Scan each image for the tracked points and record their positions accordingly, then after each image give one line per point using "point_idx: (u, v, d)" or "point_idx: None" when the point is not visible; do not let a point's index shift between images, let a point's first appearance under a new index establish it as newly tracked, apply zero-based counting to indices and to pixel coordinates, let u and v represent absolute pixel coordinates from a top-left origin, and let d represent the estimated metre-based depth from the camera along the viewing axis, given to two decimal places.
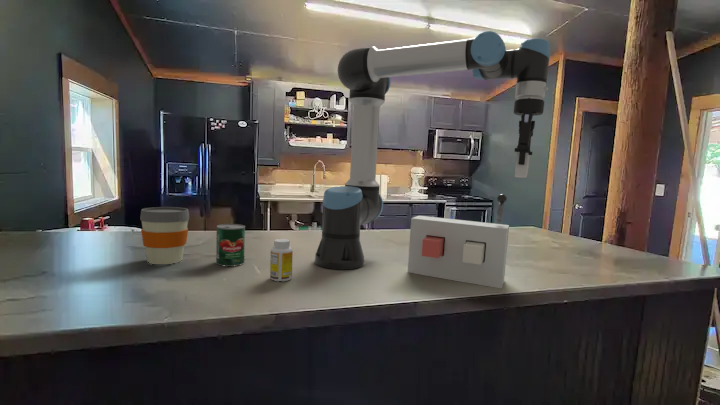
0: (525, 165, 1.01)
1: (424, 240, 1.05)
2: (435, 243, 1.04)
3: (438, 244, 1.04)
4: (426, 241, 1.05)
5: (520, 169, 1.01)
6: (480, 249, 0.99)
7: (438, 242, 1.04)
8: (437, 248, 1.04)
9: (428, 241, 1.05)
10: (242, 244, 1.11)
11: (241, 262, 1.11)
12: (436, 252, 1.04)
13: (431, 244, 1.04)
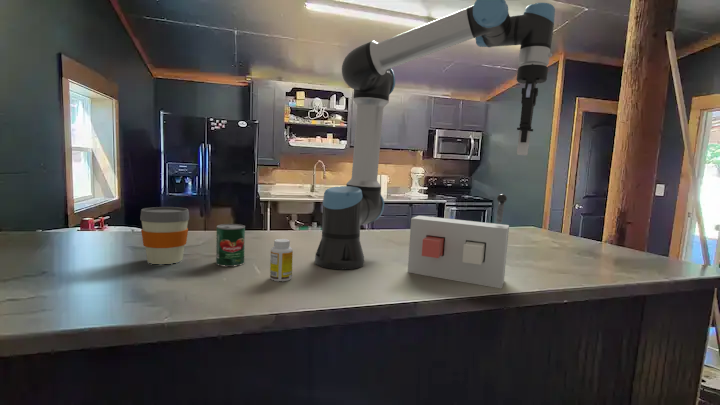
0: (527, 143, 1.05)
1: (424, 240, 1.05)
2: (435, 243, 1.04)
3: (438, 244, 1.04)
4: (426, 241, 1.05)
5: (522, 147, 1.06)
6: (480, 249, 0.99)
7: (438, 242, 1.04)
8: (437, 248, 1.04)
9: (428, 241, 1.05)
10: (242, 244, 1.11)
11: (241, 262, 1.11)
12: (436, 252, 1.04)
13: (431, 244, 1.04)
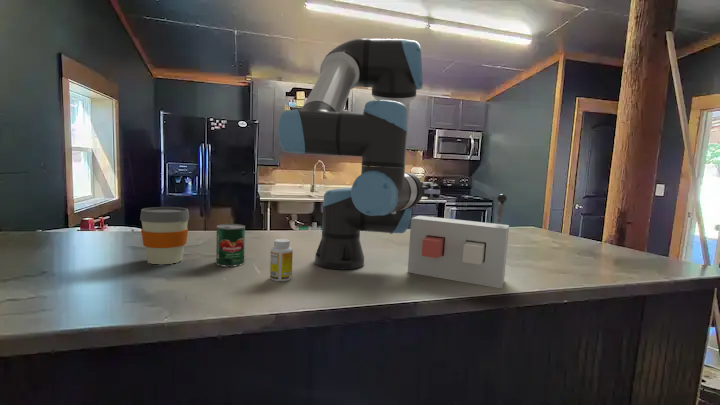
0: None
1: (424, 240, 1.05)
2: (435, 243, 1.04)
3: (438, 244, 1.04)
4: (426, 241, 1.05)
5: None
6: (480, 249, 0.99)
7: (438, 242, 1.04)
8: (437, 248, 1.04)
9: (428, 241, 1.05)
10: (242, 244, 1.11)
11: (241, 262, 1.11)
12: (436, 252, 1.04)
13: (431, 244, 1.04)
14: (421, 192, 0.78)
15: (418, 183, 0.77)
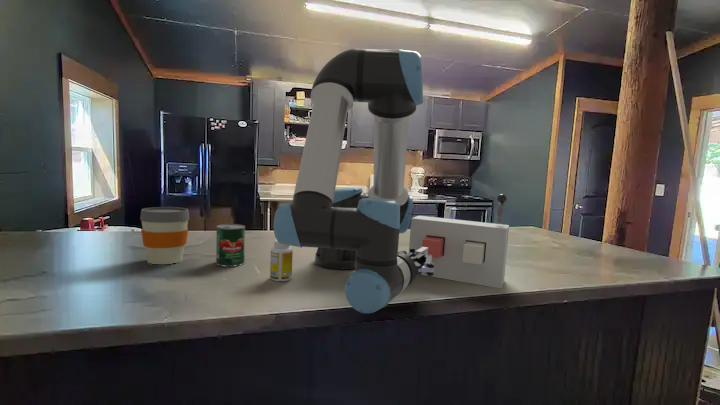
0: None
1: (424, 240, 1.05)
2: (435, 243, 1.04)
3: (438, 244, 1.04)
4: (426, 241, 1.05)
5: None
6: (480, 249, 0.99)
7: (438, 242, 1.04)
8: (437, 248, 1.04)
9: (428, 241, 1.05)
10: (242, 244, 1.11)
11: (241, 262, 1.11)
12: (436, 252, 1.04)
13: (431, 244, 1.04)
14: (415, 273, 0.79)
15: (412, 266, 0.78)
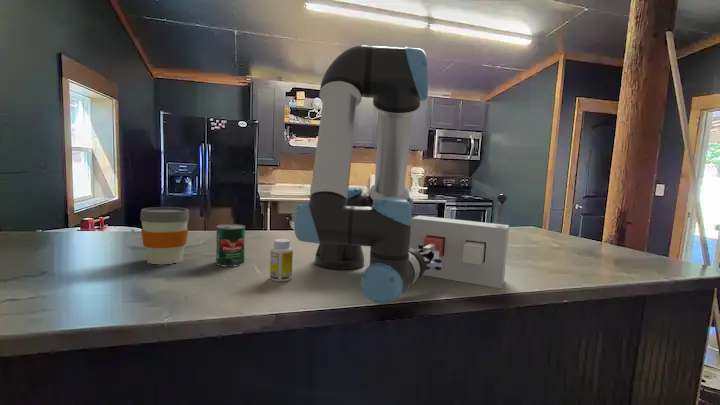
0: None
1: (425, 239, 1.06)
2: (436, 242, 1.05)
3: (439, 243, 1.05)
4: (427, 240, 1.06)
5: None
6: (480, 249, 0.99)
7: (439, 241, 1.05)
8: (438, 247, 1.05)
9: (429, 240, 1.06)
10: (242, 244, 1.11)
11: (241, 262, 1.11)
12: None
13: (432, 243, 1.05)
14: (424, 268, 0.85)
15: (421, 260, 0.84)
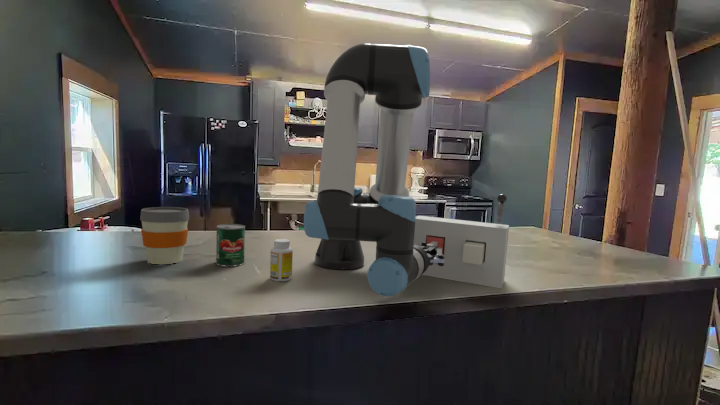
0: None
1: (428, 237, 1.09)
2: (439, 240, 1.08)
3: (442, 241, 1.08)
4: (430, 238, 1.09)
5: None
6: (480, 249, 0.99)
7: (442, 239, 1.08)
8: (441, 245, 1.08)
9: (432, 238, 1.09)
10: (242, 244, 1.11)
11: (241, 262, 1.11)
12: None
13: (435, 241, 1.08)
14: (427, 263, 0.88)
15: (425, 256, 0.87)
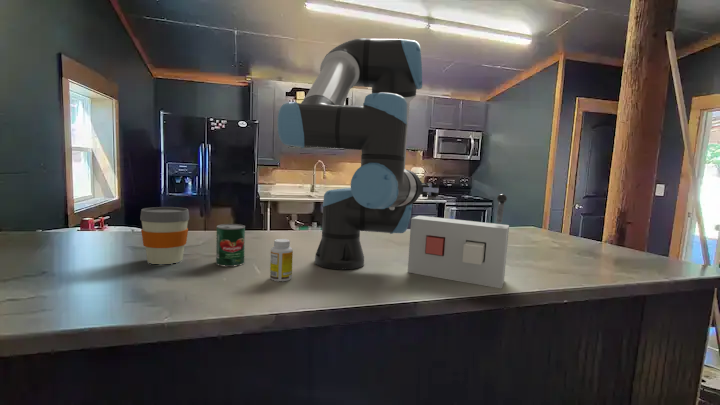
0: None
1: (428, 238, 1.09)
2: (439, 241, 1.08)
3: (441, 242, 1.07)
4: (430, 239, 1.09)
5: None
6: (480, 249, 0.99)
7: (442, 240, 1.07)
8: (441, 245, 1.07)
9: (432, 239, 1.08)
10: (242, 244, 1.11)
11: (241, 262, 1.11)
12: (440, 249, 1.08)
13: (435, 242, 1.08)
14: (420, 189, 0.77)
15: (417, 180, 0.76)
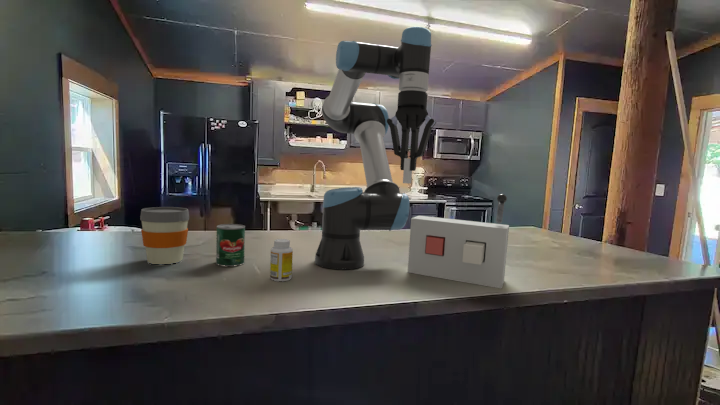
0: None
1: (428, 238, 1.09)
2: (439, 241, 1.08)
3: (441, 242, 1.07)
4: (430, 239, 1.09)
5: None
6: (480, 249, 0.99)
7: (442, 240, 1.07)
8: (441, 245, 1.07)
9: (432, 239, 1.08)
10: (242, 244, 1.11)
11: (241, 262, 1.11)
12: (440, 249, 1.08)
13: (435, 242, 1.08)
14: (426, 101, 0.98)
15: None
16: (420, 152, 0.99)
